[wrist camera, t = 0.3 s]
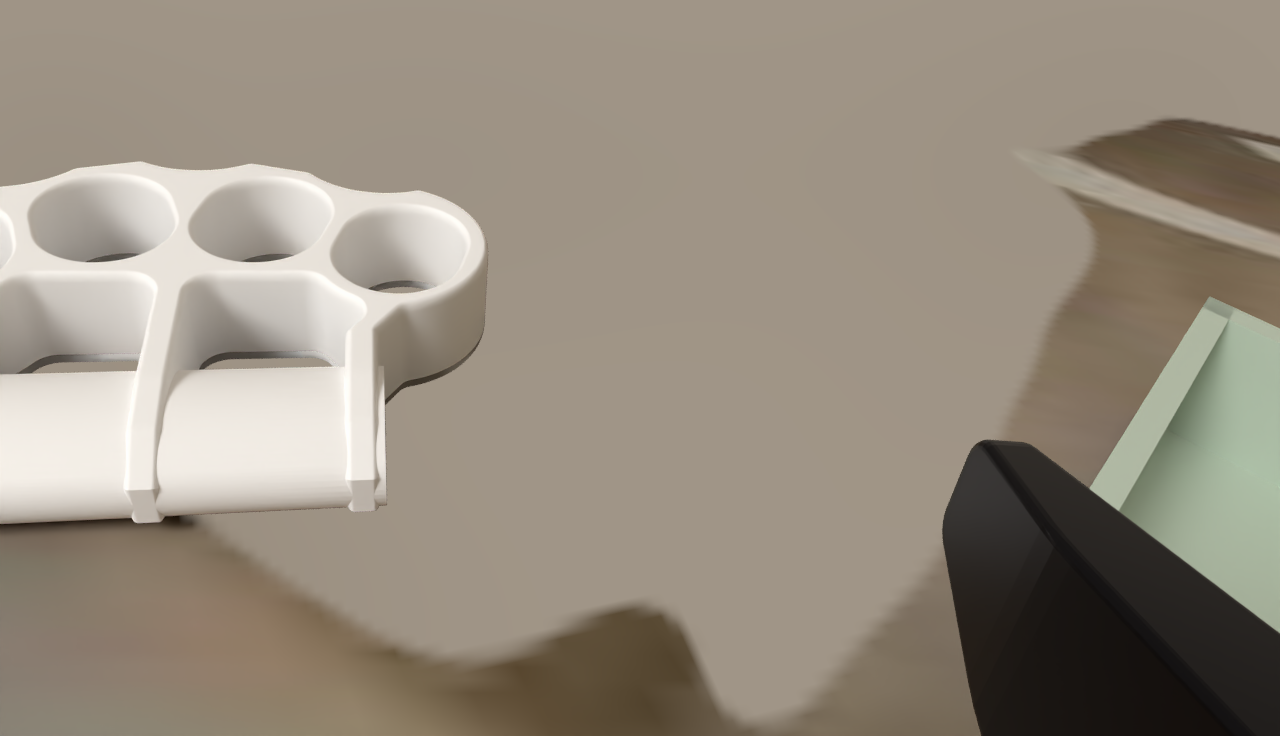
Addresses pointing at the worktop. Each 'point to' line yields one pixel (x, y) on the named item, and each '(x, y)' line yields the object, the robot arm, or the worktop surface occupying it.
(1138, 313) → the worktop surface
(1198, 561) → the box
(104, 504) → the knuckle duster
